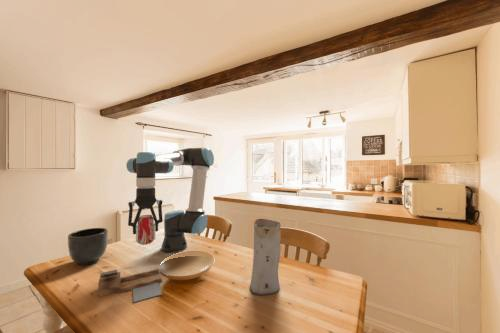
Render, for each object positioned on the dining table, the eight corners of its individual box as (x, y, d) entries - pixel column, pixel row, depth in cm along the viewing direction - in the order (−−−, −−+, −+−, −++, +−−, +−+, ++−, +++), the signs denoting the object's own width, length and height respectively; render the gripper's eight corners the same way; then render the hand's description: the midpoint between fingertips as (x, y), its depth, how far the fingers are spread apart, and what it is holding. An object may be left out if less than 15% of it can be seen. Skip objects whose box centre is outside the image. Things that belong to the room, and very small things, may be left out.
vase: (259, 301, 83) (260, 229, 82) (243, 283, 96) (244, 220, 95) (286, 292, 89) (288, 225, 89) (268, 276, 102) (269, 217, 101)
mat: (158, 283, 96) (158, 282, 96) (161, 294, 87) (161, 293, 87) (132, 289, 91) (132, 288, 91) (133, 303, 82) (133, 301, 82)
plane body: (158, 272, 106) (158, 262, 106) (161, 281, 97) (161, 270, 97) (100, 286, 94) (100, 274, 94) (97, 298, 85) (97, 285, 85)
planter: (114, 258, 122) (114, 229, 122) (80, 272, 106) (79, 239, 106) (96, 253, 129) (95, 226, 129) (61, 265, 114) (60, 234, 113)
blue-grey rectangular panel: (118, 271, 94) (118, 269, 88) (118, 274, 93) (118, 271, 87) (100, 276, 90) (98, 273, 84) (100, 278, 90) (98, 276, 84)
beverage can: (147, 246, 91) (147, 217, 91) (134, 245, 93) (134, 217, 93) (156, 241, 98) (156, 214, 98) (144, 240, 99) (144, 214, 99)
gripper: (167, 185, 103) (167, 234, 103) (120, 187, 94) (120, 241, 94) (170, 187, 97) (170, 239, 97) (120, 189, 87) (119, 246, 87)
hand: (145, 239), depth 95 cm, fingers closed on beverage can, 6 cm apart
